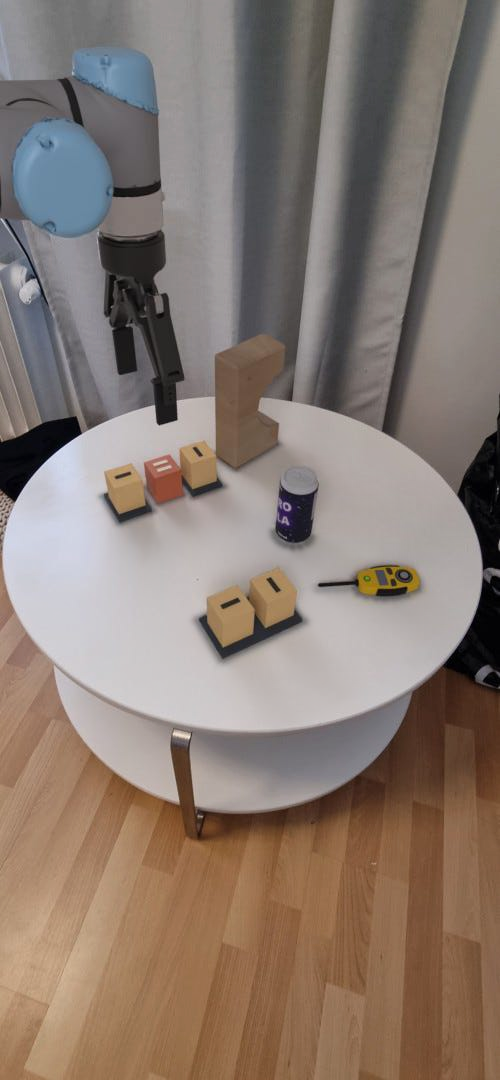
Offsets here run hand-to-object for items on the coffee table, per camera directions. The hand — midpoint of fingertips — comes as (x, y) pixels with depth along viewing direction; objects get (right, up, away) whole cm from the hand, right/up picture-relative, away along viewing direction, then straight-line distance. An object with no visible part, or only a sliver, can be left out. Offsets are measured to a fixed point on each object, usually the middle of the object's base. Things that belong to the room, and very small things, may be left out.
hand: (146, 395), depth 80 cm
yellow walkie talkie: (+31, -27, +6) cm, 42 cm away
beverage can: (+21, -19, +13) cm, 31 cm away
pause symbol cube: (0, -12, +18) cm, 22 cm away
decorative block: (+14, -3, +27) cm, 30 cm away
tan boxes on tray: (+14, -31, +1) cm, 34 cm away
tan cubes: (0, -12, +18) cm, 22 cm away
